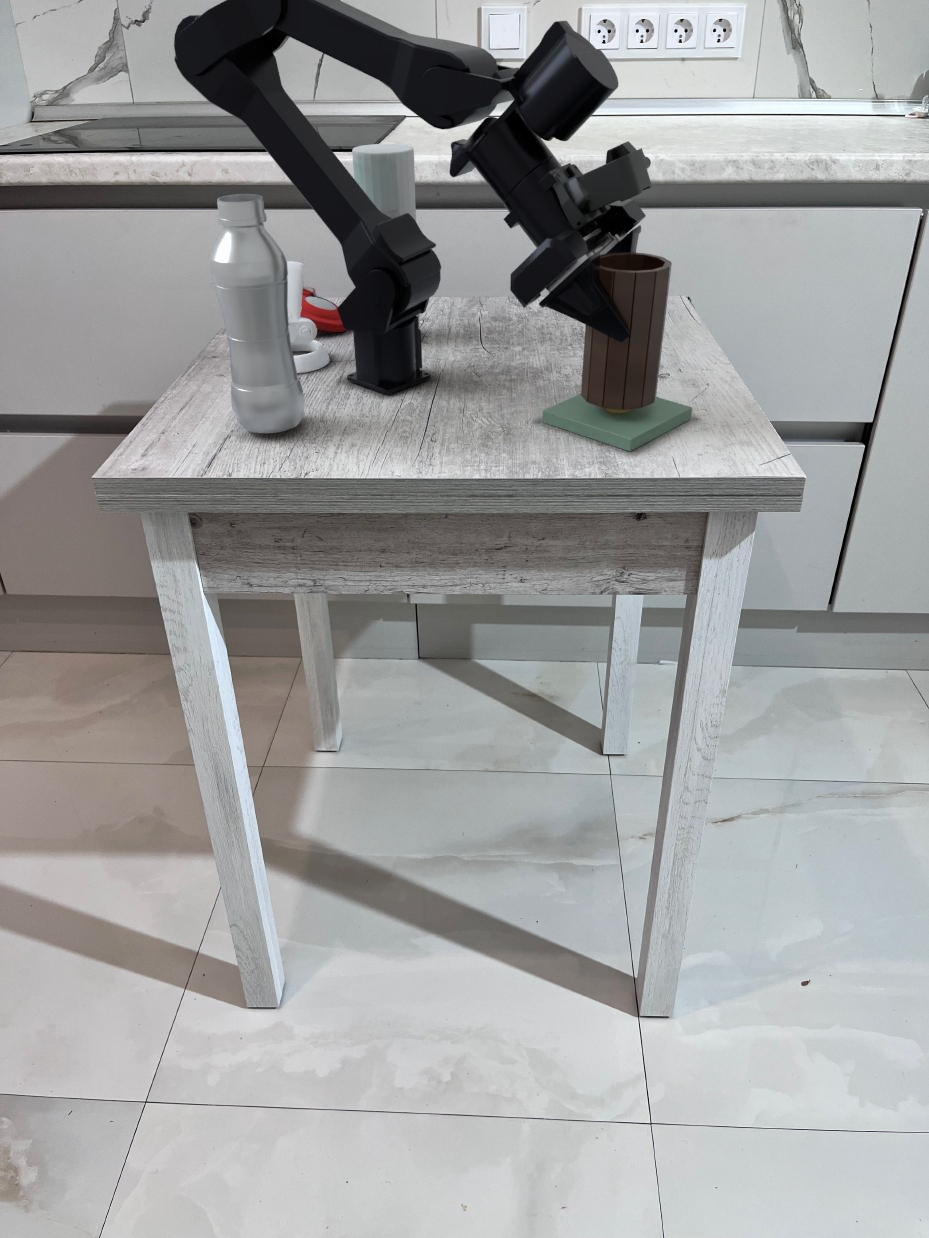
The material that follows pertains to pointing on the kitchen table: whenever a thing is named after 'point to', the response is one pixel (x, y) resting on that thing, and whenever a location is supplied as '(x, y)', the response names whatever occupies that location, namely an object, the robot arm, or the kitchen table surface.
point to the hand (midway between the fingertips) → (639, 326)
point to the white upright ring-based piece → (302, 325)
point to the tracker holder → (320, 311)
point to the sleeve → (631, 365)
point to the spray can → (387, 177)
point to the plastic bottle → (255, 317)
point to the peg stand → (617, 421)
